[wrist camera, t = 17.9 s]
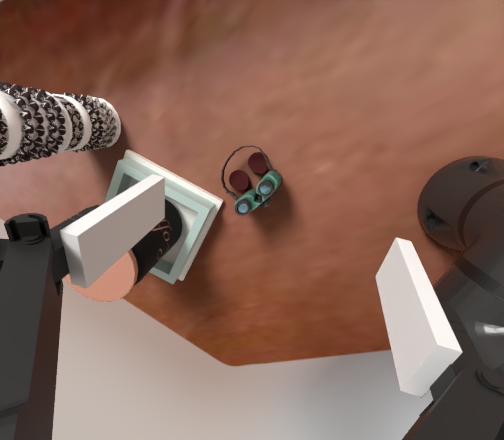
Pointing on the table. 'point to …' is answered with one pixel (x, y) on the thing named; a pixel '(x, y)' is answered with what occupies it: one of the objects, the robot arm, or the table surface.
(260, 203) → the binoculars
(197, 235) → the pocket tray
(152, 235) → the coffee jar
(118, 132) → the decorative candle
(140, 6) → the table surface
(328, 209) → the table surface
